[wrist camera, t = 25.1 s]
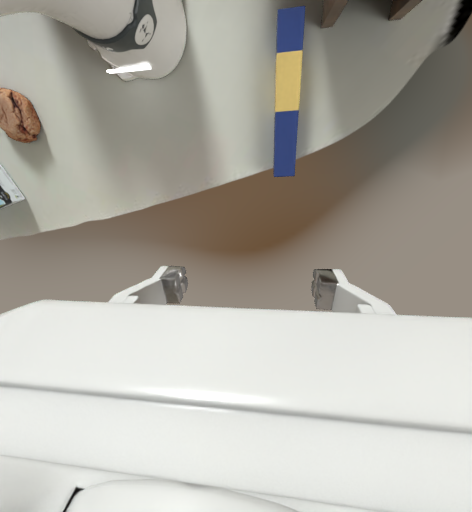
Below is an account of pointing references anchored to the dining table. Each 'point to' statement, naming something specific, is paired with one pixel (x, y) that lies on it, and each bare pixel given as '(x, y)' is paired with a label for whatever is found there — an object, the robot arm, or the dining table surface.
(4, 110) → the cookie
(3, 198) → the tea box
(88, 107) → the dining table surface
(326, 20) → the brown box
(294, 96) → the spaghetti packet
